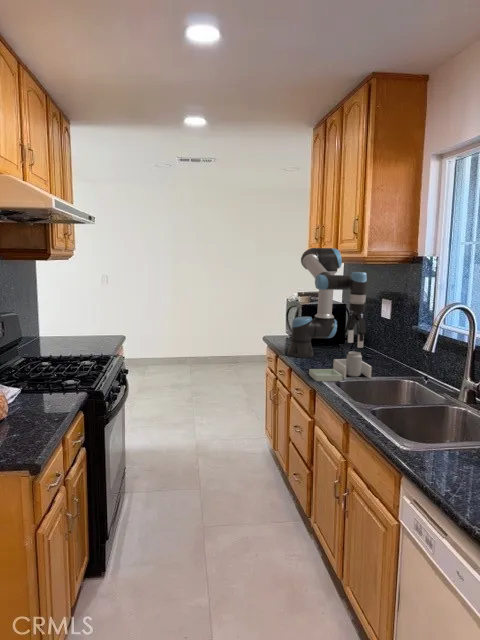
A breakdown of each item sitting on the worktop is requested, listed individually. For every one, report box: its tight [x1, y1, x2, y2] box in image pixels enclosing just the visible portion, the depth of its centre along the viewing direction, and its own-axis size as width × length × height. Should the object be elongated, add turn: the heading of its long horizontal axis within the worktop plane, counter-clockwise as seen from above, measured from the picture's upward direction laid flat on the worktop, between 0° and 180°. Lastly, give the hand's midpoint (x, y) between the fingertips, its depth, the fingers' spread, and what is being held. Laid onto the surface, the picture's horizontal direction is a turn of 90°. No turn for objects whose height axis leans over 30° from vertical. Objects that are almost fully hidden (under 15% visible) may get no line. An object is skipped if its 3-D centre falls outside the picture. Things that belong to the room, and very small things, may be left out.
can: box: [346, 351, 363, 378], centre depth 241 cm, size 8×8×12 cm
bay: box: [332, 358, 373, 379], centre depth 244 cm, size 17×14×6 cm
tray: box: [308, 368, 343, 382], centre depth 236 cm, size 13×13×3 cm
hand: (355, 345), depth 239 cm, fingers open, 13 cm apart
